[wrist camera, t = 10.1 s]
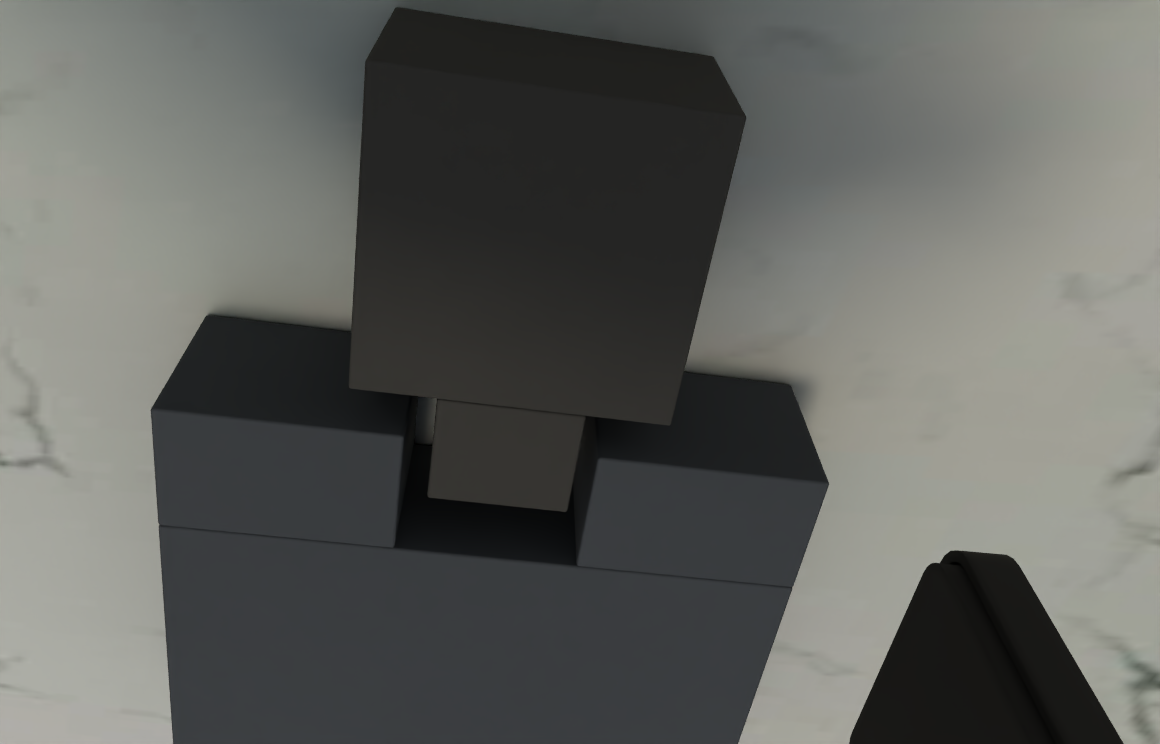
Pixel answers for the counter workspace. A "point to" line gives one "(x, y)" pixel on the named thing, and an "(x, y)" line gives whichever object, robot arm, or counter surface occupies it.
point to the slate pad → (462, 562)
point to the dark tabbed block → (532, 239)
